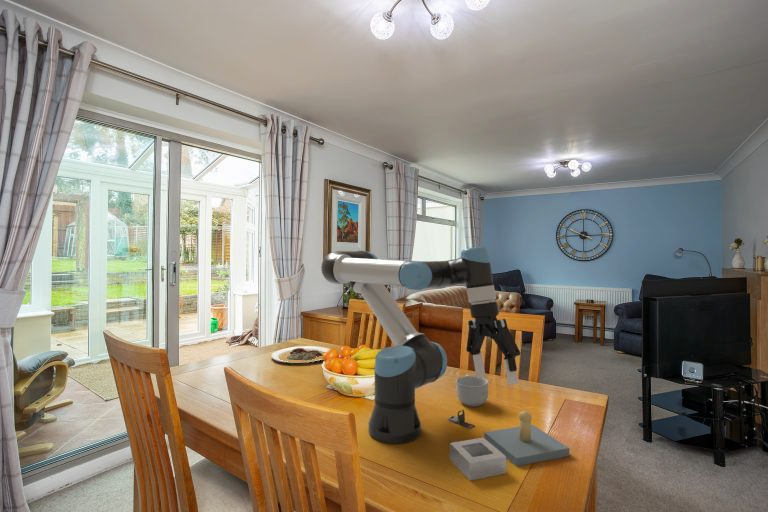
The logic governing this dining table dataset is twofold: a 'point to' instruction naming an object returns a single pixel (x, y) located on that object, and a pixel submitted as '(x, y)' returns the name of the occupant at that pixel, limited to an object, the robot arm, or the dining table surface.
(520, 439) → the keeper
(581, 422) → the dining table surface
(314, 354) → the plated food
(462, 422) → the strap clip
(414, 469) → the dining table surface
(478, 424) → the dining table surface
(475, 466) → the grey square ring block
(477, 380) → the teacup
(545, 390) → the dining table surface
